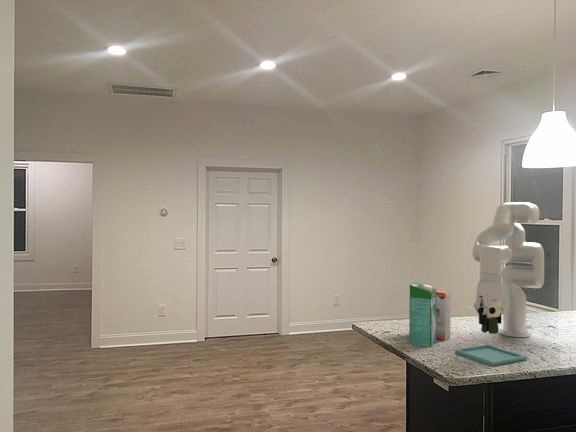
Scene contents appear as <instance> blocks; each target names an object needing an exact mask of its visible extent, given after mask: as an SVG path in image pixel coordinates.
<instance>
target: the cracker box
mask: <svg viewBox="0 0 576 432" xmlns="http://www.w3.org/2000/svg"><path fill="white" fill-rule="evenodd" d="M450 338H451V291H443V290H437V314H436V340H439V341H446V340H449V339H450Z"/></svg>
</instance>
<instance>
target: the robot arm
mask: <svg viewBox="0 0 576 432" xmlns="http://www.w3.org/2000/svg"><path fill="white" fill-rule="evenodd" d="M539 218H540V209H539V207H538V206H537V205H536V204H533V203H531V202H504V203H501V204H499V205H498V206H497V207H496V210H495V215H494V218H493V220H492V225H491V226H489V227H487V228H485V229H484V230H482V231H481V232H480V233H479V234H478V235H477V236H476V239H475V241H474V244H473V247H472V257H473V260H474V261H476V262H477V263H479V281H477V285H476V292H475V293H476V295H475V302H474V303H473V307H474V308H475V311H476V310H477V311H476V312H477V314H478V324H479V325H481V326H482V325H487V315H485V314H486V311H487V308H489V306H490V301H499V300H500V305H503V306H505V314H500V316H499V317H496V318H497V321H498V325H500V324H502V325H503V326H502V328H501V329H499V334H501V335H503V336H506V337H511V338H512V337H513V338H529V337H531V333H530V332H529V331H528V330H532V329H533V325H532V324H527V295H526V294H525V292H524V290H522V288H530V289H541V288H542V287H543V286H544V282H545V250H544V247H543V246H542V244H541V243H538V242H527V241H526V231H525V228H524V227H523V225H524V224H525V225H526V224H527V225H528V224H531V225H532V224H536V223H538V221H539ZM522 224H523V225H522ZM501 240H504V244H496V243H495V242H498V241H501ZM494 243H495V244H494ZM508 263H514V264H515V263H516V264H529V265H531V266H525V265H524V266H523V265H513V264H512V265H506V264H508ZM503 264H504V265H506V266H504V267H503V268H502V265H503ZM482 301H483V304H484V306H482ZM482 308H484V310H482ZM500 311H501V312H503V308H500ZM502 319H503V320H502Z"/></svg>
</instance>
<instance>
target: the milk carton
mask: <svg viewBox="0 0 576 432" xmlns="http://www.w3.org/2000/svg"><path fill="white" fill-rule="evenodd" d="M436 314H437V289H436V288H434V287H433V286H432V285H428V284H426V283H425V284H421V283H419V282H415V283H412V284H410V285H409V331H408V332H409V337H408V338H409V339H408V341H409V344H410V345H416V346H422V347H429V348H431V347H432V346H434V345H435V344H436V343H437V339H436Z"/></svg>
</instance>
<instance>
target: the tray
mask: <svg viewBox="0 0 576 432" xmlns="http://www.w3.org/2000/svg"><path fill="white" fill-rule="evenodd" d="M454 354H456V355H458V356H461V355H462V357H463V358H464V357H465V358H467V359H470V360H473V361H475V362H479V363H482V364H484V365H487V366H491V367H499V366H504V365H509V364H514V363H515V364H516V363H519V362H525V361H528V356H527V355H524V354H522V353H518V352H514V351H510V350H507V349H504V348H501V347H497V346H495V345H491V344H488V343H487V344H482V345H475V346H469V347H468V346H467V347H462V348H455V349H454Z"/></svg>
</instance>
